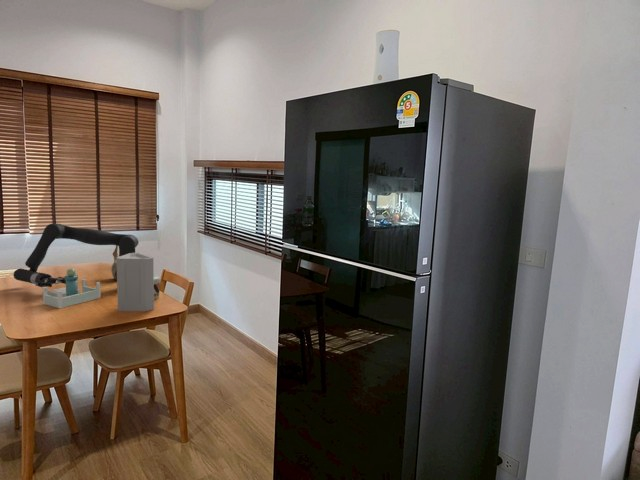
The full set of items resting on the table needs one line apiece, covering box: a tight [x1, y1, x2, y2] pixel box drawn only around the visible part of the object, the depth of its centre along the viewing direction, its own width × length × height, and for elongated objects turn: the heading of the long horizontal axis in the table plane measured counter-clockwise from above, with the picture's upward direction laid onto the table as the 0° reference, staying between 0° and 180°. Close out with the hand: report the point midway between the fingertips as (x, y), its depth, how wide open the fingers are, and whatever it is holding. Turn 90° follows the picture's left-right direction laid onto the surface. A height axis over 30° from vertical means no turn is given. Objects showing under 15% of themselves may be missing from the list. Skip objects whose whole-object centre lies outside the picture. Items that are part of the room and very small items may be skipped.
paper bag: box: [116, 252, 155, 312], centre depth 220 cm, size 19×15×28 cm
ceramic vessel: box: [110, 245, 120, 281], centre depth 276 cm, size 16×9×25 cm, turn 44°
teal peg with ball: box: [64, 268, 79, 297], centre depth 228 cm, size 6×6×18 cm
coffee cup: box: [154, 275, 161, 300], centre depth 240 cm, size 9×9×12 cm
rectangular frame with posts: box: [42, 278, 101, 309], centre depth 228 cm, size 14×24×9 cm, turn 154°
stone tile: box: [47, 286, 81, 298], centre depth 240 cm, size 12×12×2 cm
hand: (59, 283), depth 232 cm, fingers open, 8 cm apart
